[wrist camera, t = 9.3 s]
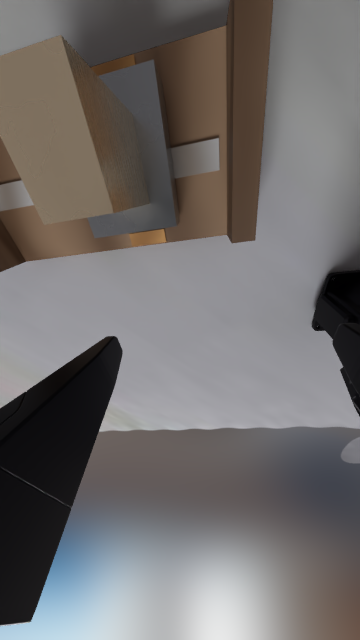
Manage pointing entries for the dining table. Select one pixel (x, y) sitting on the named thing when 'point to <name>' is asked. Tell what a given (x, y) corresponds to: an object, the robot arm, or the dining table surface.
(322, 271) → the dining table surface
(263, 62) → the base
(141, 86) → the handle
